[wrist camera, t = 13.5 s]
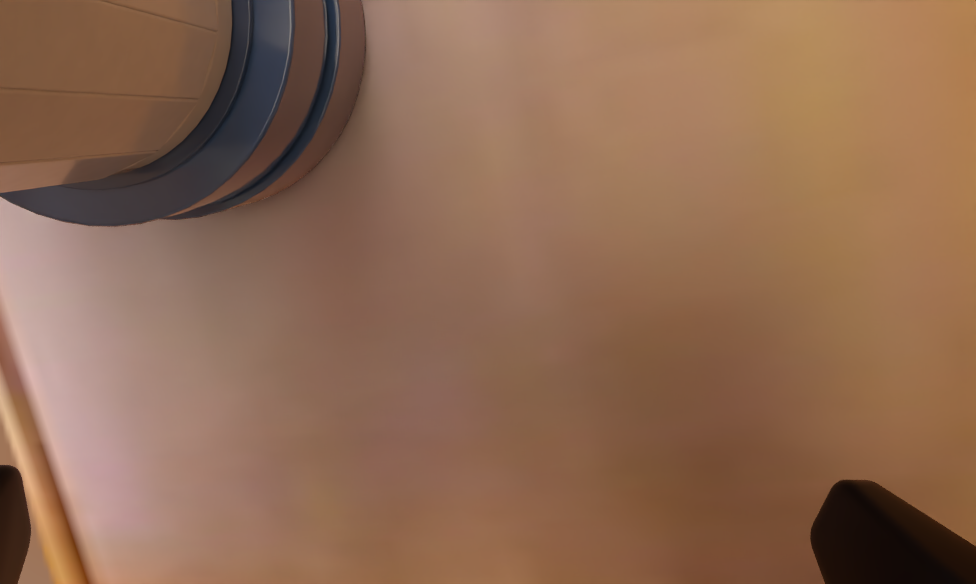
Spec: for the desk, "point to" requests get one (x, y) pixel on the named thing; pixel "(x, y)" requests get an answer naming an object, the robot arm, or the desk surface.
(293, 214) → the desk surface
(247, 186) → the round ridged metallic base
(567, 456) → the desk surface
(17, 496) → the robot arm
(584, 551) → the desk surface
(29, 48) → the cup
